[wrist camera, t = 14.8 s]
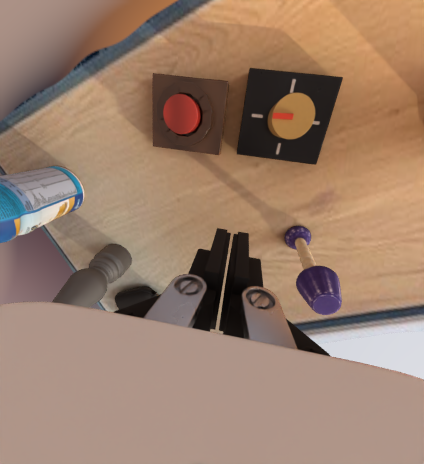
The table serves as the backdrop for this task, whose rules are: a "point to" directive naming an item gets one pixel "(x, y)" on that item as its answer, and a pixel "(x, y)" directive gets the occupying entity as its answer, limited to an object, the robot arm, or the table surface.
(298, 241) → the toy lamp
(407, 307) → the table surface
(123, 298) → the carrying case
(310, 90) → the dimmer
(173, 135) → the switch box
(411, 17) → the table surface
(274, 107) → the dimmer knob
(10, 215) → the beverage bottle
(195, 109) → the power button
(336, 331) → the table surface
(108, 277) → the candle holder
